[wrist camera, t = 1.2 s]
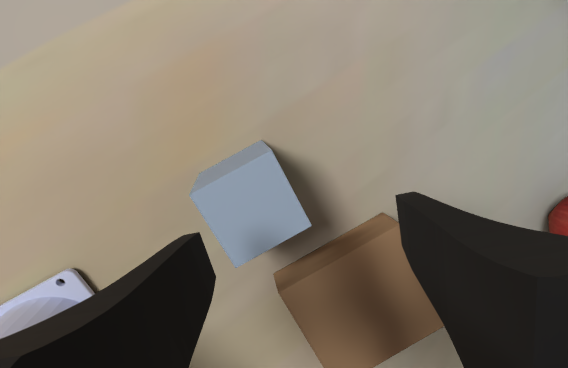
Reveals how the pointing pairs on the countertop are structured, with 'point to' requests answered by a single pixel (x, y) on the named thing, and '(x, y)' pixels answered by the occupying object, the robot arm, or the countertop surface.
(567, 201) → the onion
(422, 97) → the countertop surface
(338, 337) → the base
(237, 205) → the block
